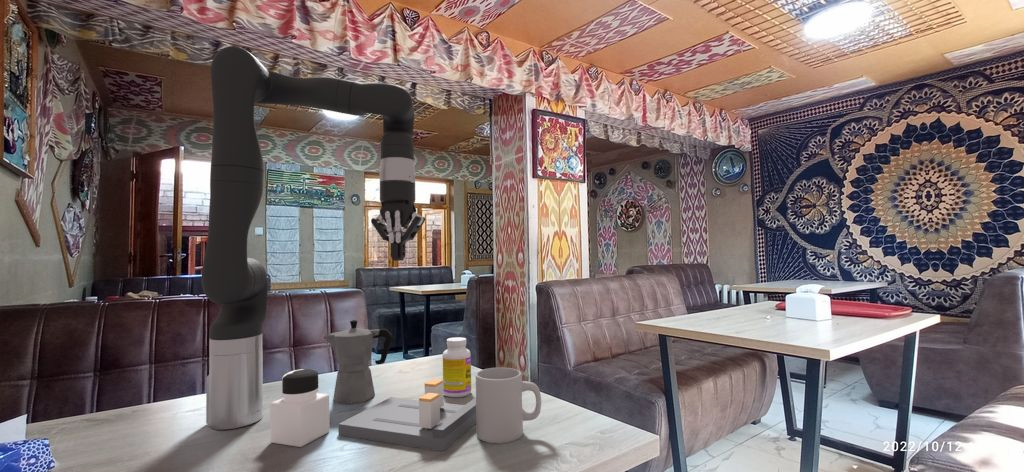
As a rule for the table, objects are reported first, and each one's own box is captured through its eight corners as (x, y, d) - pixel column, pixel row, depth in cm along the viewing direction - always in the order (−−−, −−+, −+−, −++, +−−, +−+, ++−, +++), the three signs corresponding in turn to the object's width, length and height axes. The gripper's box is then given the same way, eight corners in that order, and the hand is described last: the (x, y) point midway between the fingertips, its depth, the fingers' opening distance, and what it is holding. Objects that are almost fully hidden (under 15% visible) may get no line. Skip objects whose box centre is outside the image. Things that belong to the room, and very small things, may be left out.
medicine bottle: (330, 432, 84) (329, 367, 84) (300, 448, 77) (300, 378, 77) (300, 428, 86) (300, 365, 87) (269, 443, 79) (269, 375, 80)
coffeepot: (319, 406, 98) (318, 324, 99) (329, 393, 107) (328, 318, 108) (391, 401, 101) (390, 321, 101) (394, 388, 110) (394, 315, 111)
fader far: (424, 409, 88) (424, 383, 88) (433, 404, 91) (433, 379, 91) (435, 410, 87) (435, 384, 87) (443, 405, 90) (443, 380, 90)
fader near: (419, 427, 79) (418, 398, 79) (428, 420, 82) (428, 392, 82) (431, 428, 78) (430, 399, 78) (440, 422, 81) (439, 393, 81)
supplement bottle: (469, 398, 102) (468, 341, 102) (440, 398, 102) (439, 342, 102) (472, 389, 108) (471, 336, 109) (445, 389, 108) (444, 336, 109)
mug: (472, 443, 77) (471, 379, 78) (480, 424, 86) (479, 367, 86) (541, 445, 76) (539, 380, 77) (542, 425, 85) (541, 367, 85)
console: (338, 434, 82) (338, 415, 82) (390, 406, 97) (390, 390, 97) (443, 451, 75) (442, 430, 75) (482, 417, 89) (482, 399, 90)
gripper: (361, 180, 96) (361, 261, 95) (413, 176, 91) (414, 260, 90) (383, 185, 103) (383, 260, 102) (432, 181, 98) (433, 259, 97)
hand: (398, 260), depth 96 cm, fingers closed
